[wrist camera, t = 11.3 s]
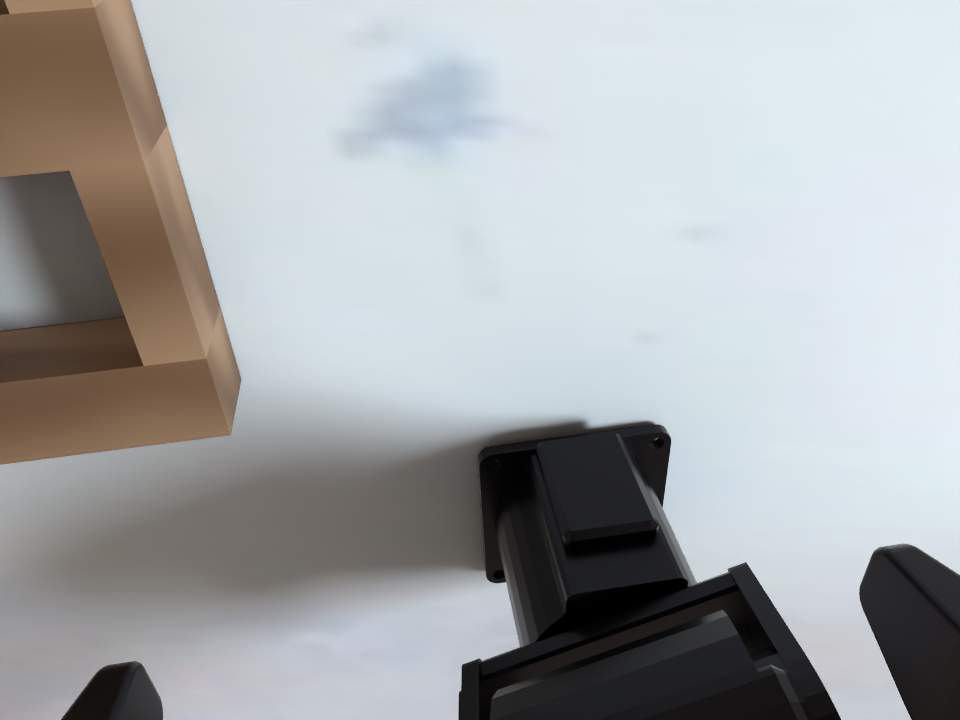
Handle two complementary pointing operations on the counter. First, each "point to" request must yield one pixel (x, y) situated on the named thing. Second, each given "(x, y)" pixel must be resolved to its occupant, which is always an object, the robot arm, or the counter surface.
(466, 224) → the counter surface
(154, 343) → the rack
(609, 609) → the robot arm
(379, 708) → the counter surface
